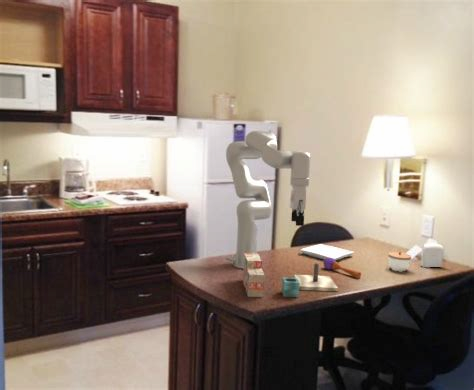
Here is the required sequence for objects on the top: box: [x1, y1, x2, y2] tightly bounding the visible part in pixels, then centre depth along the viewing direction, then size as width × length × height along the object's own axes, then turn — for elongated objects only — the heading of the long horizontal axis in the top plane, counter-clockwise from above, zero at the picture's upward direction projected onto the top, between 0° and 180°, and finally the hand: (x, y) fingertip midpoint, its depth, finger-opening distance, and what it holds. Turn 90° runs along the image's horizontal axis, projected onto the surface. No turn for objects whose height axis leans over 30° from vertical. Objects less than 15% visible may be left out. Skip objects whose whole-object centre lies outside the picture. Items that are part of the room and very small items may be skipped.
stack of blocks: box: [242, 253, 266, 298], centre depth 207 cm, size 21×6×12 cm, turn 5°
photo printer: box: [420, 242, 444, 268], centre depth 255 cm, size 10×4×12 cm, turn 89°
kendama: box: [323, 257, 362, 279], centre depth 236 cm, size 6×6×20 cm
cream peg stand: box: [293, 262, 339, 292], centre depth 216 cm, size 16×16×10 cm
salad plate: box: [300, 243, 355, 262], centre depth 266 cm, size 21×21×3 cm
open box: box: [281, 277, 300, 298], centre depth 202 cm, size 6×6×6 cm
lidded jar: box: [387, 251, 412, 273], centre depth 246 cm, size 11×11×9 cm
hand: (297, 223), depth 207 cm, fingers open, 9 cm apart
